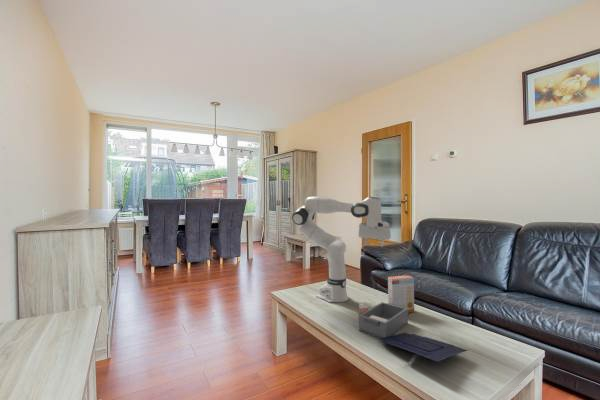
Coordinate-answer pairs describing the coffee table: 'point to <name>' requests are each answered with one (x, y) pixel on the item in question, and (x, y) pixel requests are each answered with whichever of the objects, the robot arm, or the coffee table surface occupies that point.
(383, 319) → the cream block
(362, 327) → the tote
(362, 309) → the jar with white lid
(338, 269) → the robot arm
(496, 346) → the coffee table surface
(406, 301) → the cracker box
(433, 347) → the dark navy flat panel
